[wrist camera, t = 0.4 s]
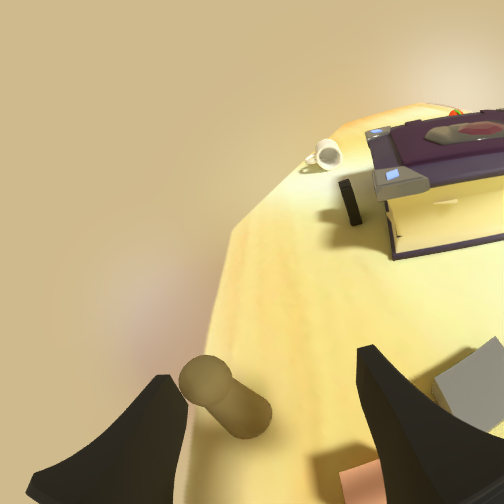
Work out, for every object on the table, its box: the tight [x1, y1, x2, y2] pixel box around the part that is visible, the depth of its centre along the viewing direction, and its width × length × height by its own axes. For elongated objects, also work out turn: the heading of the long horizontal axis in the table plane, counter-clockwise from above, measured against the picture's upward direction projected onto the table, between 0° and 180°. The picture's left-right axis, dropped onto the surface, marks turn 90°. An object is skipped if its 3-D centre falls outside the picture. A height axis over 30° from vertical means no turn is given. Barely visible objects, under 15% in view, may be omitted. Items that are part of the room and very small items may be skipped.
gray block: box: [431, 336, 504, 433], centre depth 15 cm, size 8×8×4 cm
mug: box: [305, 139, 343, 170], centre depth 81 cm, size 12×10×8 cm
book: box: [365, 108, 504, 261], centre depth 35 cm, size 33×45×14 cm
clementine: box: [449, 109, 463, 116], centre depth 62 cm, size 8×7×7 cm
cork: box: [179, 355, 272, 439], centre depth 25 cm, size 6×6×11 cm
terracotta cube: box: [339, 459, 387, 504], centre depth 13 cm, size 5×5×5 cm
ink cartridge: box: [338, 179, 362, 226], centre depth 50 cm, size 5×2×8 cm, turn 168°
